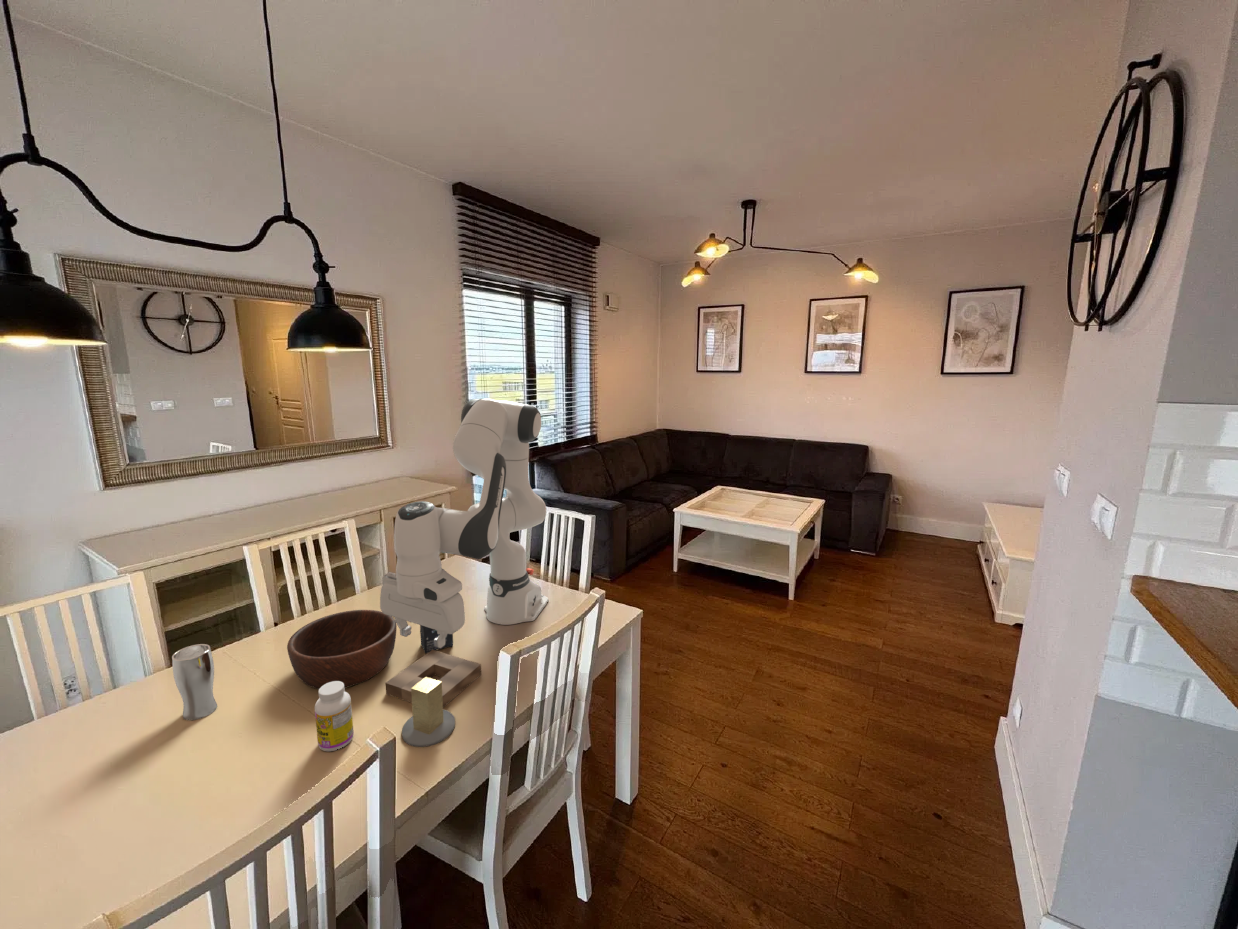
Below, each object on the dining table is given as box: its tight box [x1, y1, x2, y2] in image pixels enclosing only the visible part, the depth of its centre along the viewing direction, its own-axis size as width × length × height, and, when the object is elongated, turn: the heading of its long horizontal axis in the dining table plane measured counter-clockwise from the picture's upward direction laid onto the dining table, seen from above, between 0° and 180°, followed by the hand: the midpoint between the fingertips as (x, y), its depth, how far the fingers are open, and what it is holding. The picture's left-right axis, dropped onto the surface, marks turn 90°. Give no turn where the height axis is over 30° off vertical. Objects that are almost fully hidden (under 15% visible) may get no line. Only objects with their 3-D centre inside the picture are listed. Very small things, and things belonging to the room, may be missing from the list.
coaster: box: [401, 708, 456, 748], centre depth 112 cm, size 11×11×1 cm
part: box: [411, 677, 444, 735], centre depth 111 cm, size 4×4×10 cm
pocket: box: [384, 650, 482, 708], centre depth 127 cm, size 16×16×3 cm
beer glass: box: [171, 643, 218, 721], centre depth 114 cm, size 7×7×15 cm
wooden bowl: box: [286, 609, 398, 690], centre depth 132 cm, size 25×25×10 cm
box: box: [419, 625, 454, 654], centre depth 144 cm, size 8×6×11 cm
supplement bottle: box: [314, 681, 354, 752], centre depth 106 cm, size 7×7×13 cm
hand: (422, 640), depth 108 cm, fingers open, 8 cm apart
